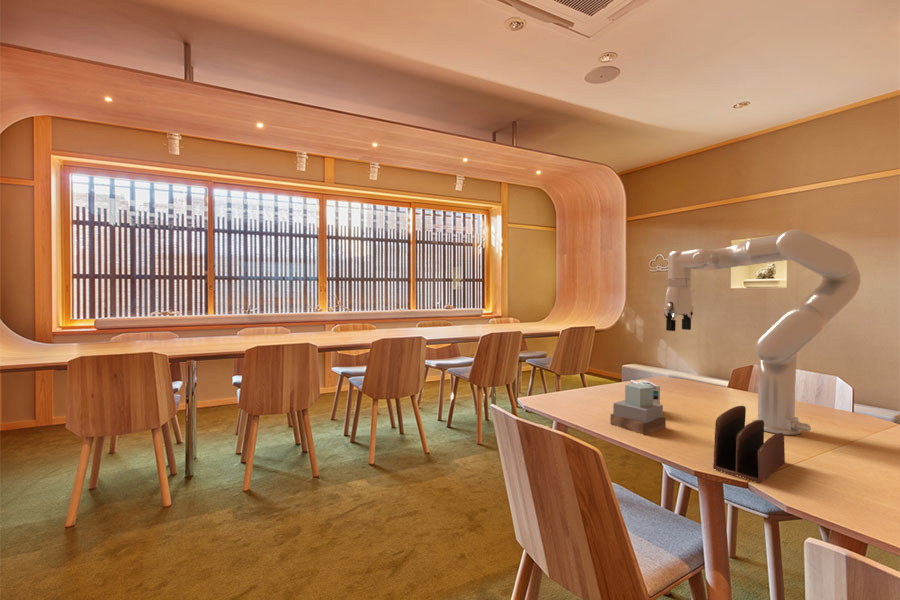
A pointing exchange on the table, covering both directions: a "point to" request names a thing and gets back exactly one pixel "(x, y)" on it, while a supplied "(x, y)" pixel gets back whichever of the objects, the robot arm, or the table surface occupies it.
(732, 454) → the letter holder
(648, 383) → the light bulb box
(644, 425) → the walnut slab
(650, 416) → the grey slab
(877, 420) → the table surface
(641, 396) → the blue-grey block
